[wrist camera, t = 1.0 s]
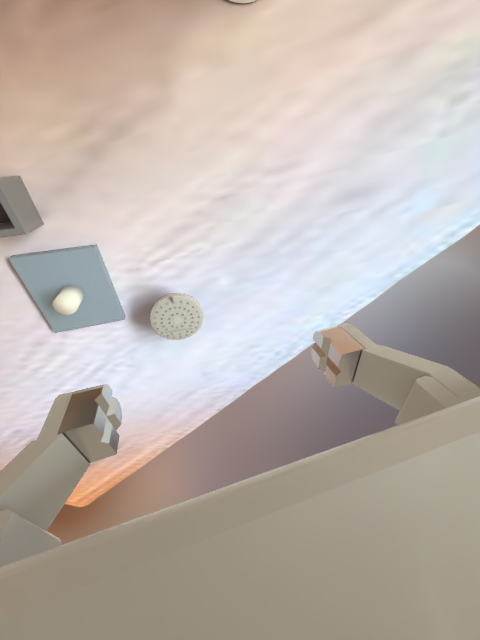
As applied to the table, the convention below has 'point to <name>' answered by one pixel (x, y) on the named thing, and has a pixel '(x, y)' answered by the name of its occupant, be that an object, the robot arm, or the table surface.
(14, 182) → the collar
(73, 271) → the base
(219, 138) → the table surface
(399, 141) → the table surface
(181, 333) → the showerhead
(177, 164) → the table surface
